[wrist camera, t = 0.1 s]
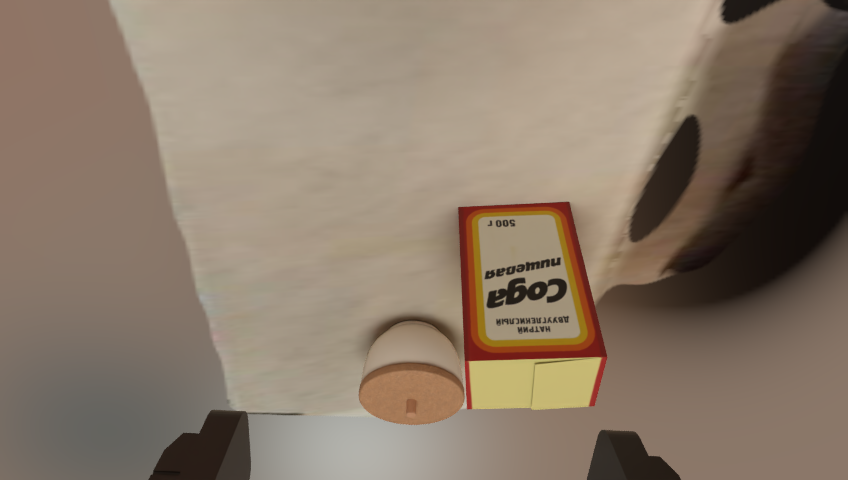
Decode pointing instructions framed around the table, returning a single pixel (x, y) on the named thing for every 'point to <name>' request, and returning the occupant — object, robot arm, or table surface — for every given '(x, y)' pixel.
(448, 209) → the table surface
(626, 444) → the robot arm
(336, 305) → the table surface
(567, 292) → the baking soda box
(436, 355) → the lidded jar
